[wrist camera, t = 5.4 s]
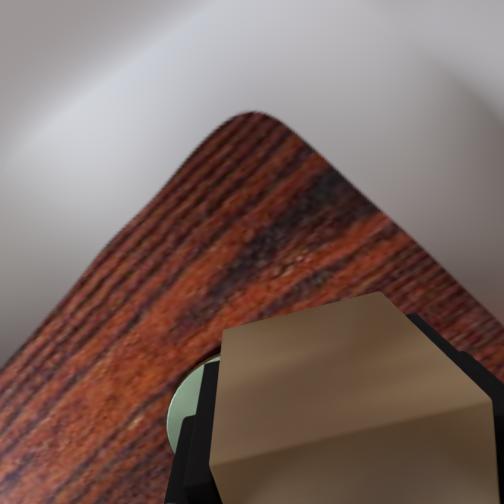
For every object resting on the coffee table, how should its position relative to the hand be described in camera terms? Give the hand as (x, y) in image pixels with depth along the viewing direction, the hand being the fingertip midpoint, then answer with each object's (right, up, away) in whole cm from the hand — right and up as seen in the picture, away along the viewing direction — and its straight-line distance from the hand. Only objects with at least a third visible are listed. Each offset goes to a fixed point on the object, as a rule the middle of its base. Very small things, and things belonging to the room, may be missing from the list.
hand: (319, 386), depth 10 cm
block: (0, 0, 0) cm, 0 cm away
